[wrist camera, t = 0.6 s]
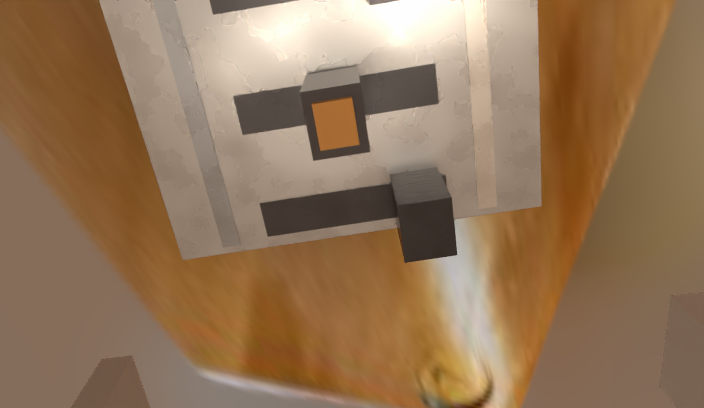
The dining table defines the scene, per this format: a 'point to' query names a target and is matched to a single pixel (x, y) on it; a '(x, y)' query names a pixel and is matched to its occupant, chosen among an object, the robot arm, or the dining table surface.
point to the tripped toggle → (334, 113)
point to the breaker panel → (290, 126)
